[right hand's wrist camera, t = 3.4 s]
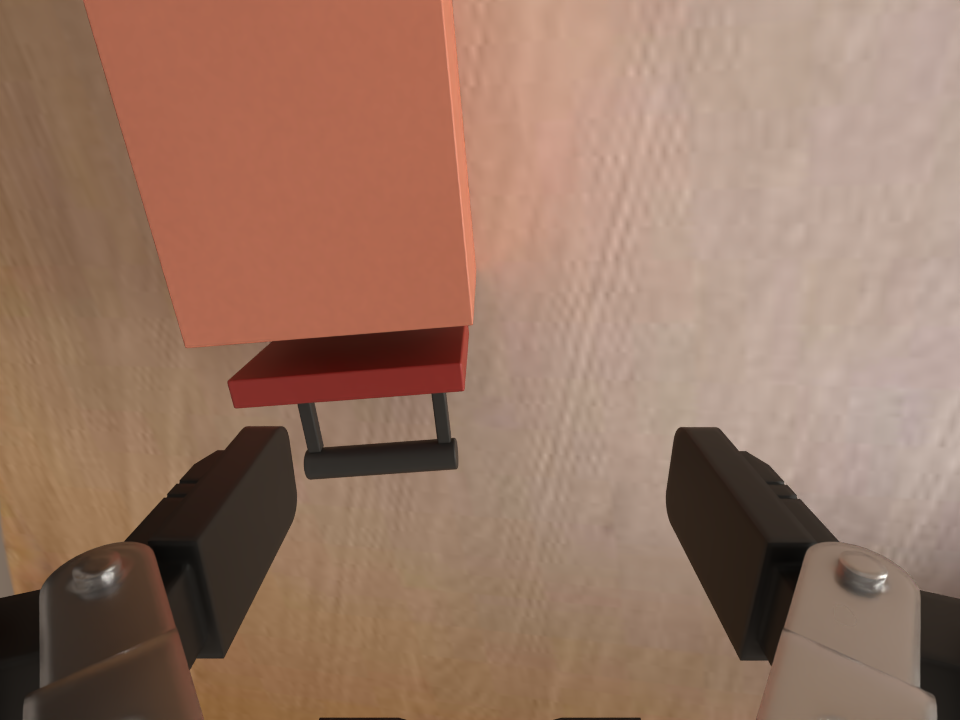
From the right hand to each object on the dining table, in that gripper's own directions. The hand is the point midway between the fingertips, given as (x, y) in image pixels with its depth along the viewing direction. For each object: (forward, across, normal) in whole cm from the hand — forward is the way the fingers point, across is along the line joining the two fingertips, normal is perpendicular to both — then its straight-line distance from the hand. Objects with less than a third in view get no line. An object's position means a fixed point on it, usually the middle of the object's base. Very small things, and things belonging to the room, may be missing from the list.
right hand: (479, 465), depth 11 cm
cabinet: (+17, +6, -9) cm, 20 cm away
